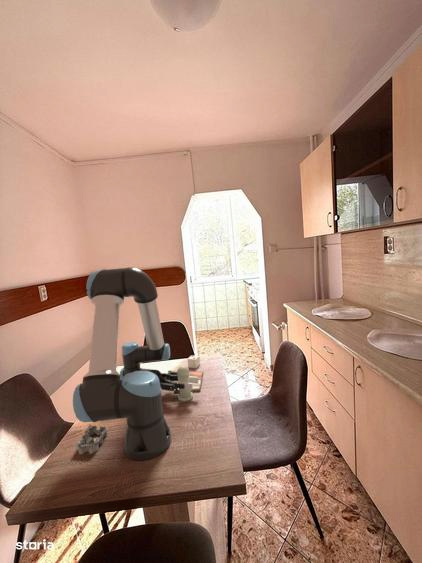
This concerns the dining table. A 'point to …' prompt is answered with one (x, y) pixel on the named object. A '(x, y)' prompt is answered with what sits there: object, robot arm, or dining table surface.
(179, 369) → the pawn
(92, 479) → the dining table surface
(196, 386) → the board
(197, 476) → the dining table surface
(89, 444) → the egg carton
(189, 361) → the die
